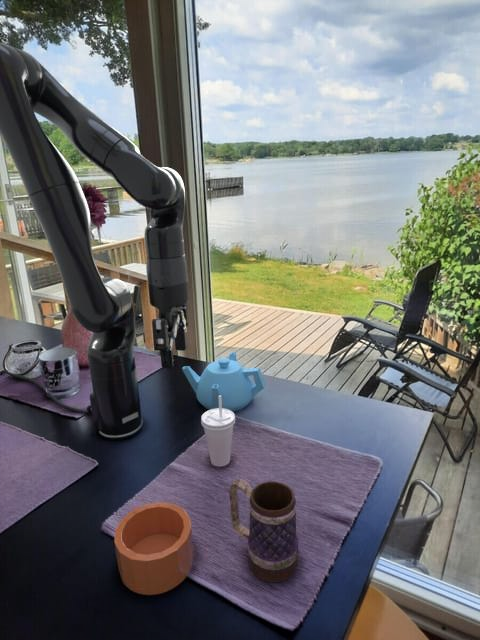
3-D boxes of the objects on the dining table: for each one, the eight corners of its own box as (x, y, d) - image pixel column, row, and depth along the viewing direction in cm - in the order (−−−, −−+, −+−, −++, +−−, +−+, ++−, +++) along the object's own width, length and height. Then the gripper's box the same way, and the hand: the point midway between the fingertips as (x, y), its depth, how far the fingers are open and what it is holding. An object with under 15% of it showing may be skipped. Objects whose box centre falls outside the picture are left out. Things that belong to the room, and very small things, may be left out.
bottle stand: (106, 589, 59) (100, 555, 57) (137, 530, 69) (132, 498, 67) (181, 600, 57) (177, 565, 56) (201, 537, 67) (199, 505, 65)
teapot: (213, 424, 97) (210, 380, 93) (182, 397, 109) (179, 357, 105) (269, 404, 104) (268, 362, 101) (235, 380, 117) (233, 343, 113)
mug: (306, 556, 63) (308, 487, 59) (283, 594, 58) (282, 521, 54) (247, 527, 69) (244, 462, 65) (220, 559, 63) (216, 490, 59)
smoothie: (233, 472, 81) (230, 406, 77) (199, 469, 82) (194, 403, 78) (240, 452, 87) (237, 388, 83) (208, 448, 88) (204, 386, 84)
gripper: (161, 270, 90) (168, 344, 95) (133, 288, 77) (143, 373, 82) (197, 271, 89) (202, 345, 94) (175, 289, 76) (182, 375, 81)
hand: (174, 358), depth 88 cm, fingers open, 8 cm apart
